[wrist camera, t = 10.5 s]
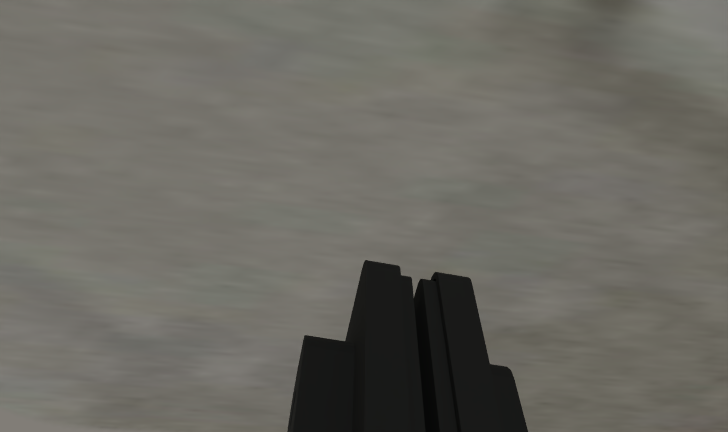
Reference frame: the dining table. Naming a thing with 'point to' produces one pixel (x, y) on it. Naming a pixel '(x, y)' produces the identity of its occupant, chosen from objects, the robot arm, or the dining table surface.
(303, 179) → the dining table surface
